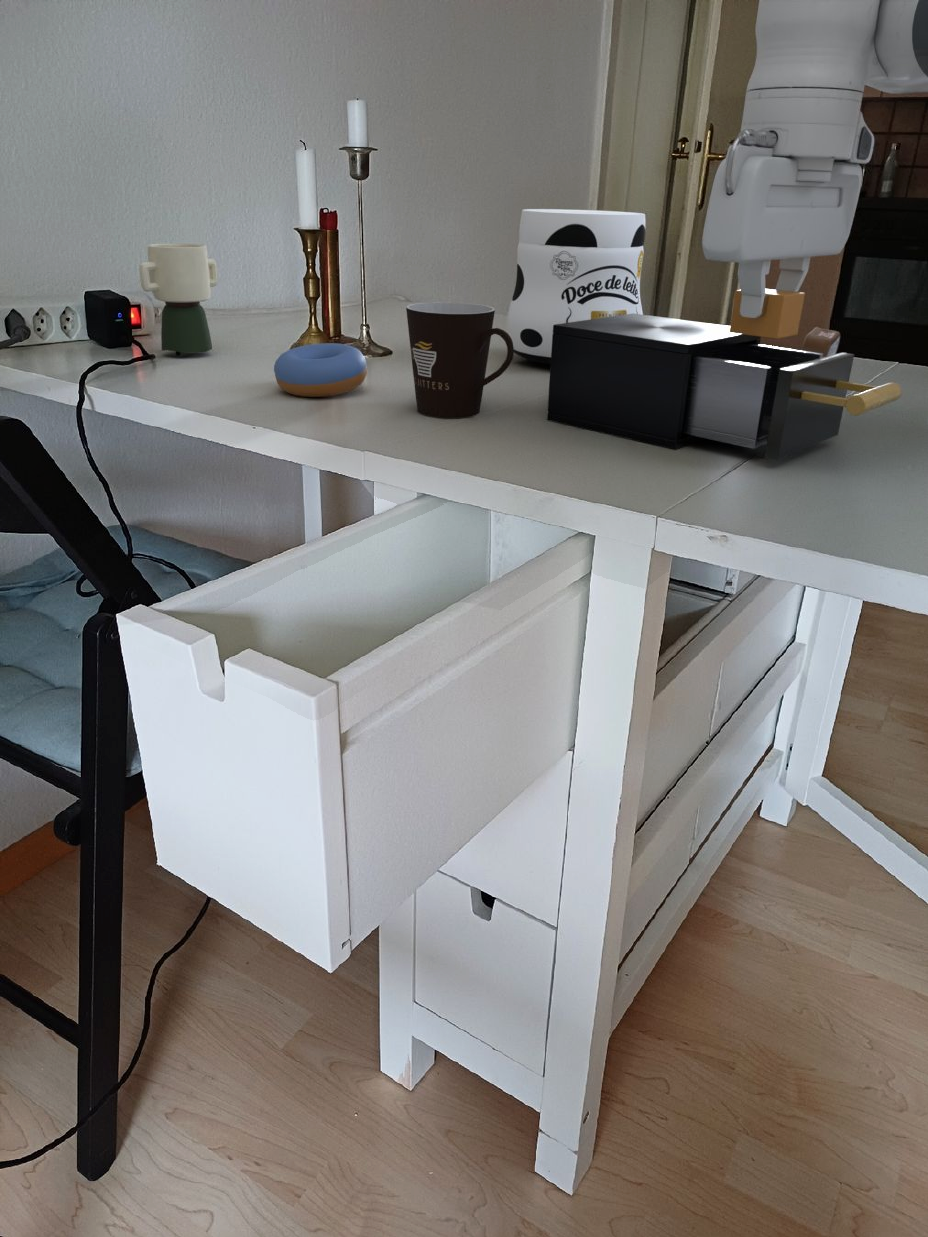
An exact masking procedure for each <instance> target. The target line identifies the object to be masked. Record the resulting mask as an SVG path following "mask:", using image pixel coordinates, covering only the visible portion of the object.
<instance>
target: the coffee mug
mask: <svg viewBox="0 0 928 1237" xmlns="http://www.w3.org/2000/svg"><path fill="white" fill-rule="evenodd" d="M405 311H406V321H407V330H408V337H409V338H408V339H409V348H410V358H411V366H412V375H413V376H412V377H413V384H414V394H415V404H416V411H417V413H419V414H421V415H422V416H426V417H431V418H438V419H464V418H465V419H466V418H472V417H475V416H477V415H479V414H480V413H481V407H482V406H481V405H482V399H483V395H484V394H483V392H484V386H487V385H488V384H490V383H491V382H493V381H495V380H496V379H497V378H499V377H500V376H502V374H503V373H504V372H505V371H506V370H507V369H508V368H509V366H510V365H511V363H512V362H513V358H514V354H515V353H514V348H513V341H512V339H511V337H510V336H509V335H508V333H507V332H506V331H505V330H504V329H502V328H500V327H493V326H494V319H495V313H496V308H495V307H493V306H489V305H485V304H479V303H469V302H453V301H451V302H450V301H449V302H448V301H433V302H432V301H431V302H430V301H429V302H417V303H411V304H408V305H406V306H405ZM493 335H497V336H499V337H500V338H501V339H502V340H503V341H504V343H505V345H506V349H507V353H506V358H505V360H504V362H503V363H502V364H501V366H500V367H499V368H498V369H497V370H495V371H494V372H493V373H491V374H489V375H488V376H487V377H486V373H487V366H488V365H487V364H488V360H489V352H490V347H491V339H492V336H493Z"/></svg>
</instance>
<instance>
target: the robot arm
mask: <svg viewBox="0 0 928 1237" xmlns="http://www.w3.org/2000/svg"><path fill="white" fill-rule="evenodd" d="M754 27H755V32H754V33H755V40H756V55H755V62H754V67H753V70H752V73H751V74H750V78H749V79H748V82H747V86H746V90H745V98H744V105H743V112H742V118H741V126H740V131H739V133H738V134H737V137H736V138H735V139H734V141H733V143H732V144H731V145H729V147H728V148H727V152H726V157H725V158H723V159H722V161H721V162H720V164H719V166H718V167H717V170H716V173H715V176H714V179H713V182H712V187H711V191H710V196H709V200H708V206H707V211H706V216H705V220H704V226H703V231H702V232H703V233H702V238H701V246H702V252H703V256H704V258H705V259H706V260H709V261H714V262H715V261H716V262H726V263H738V267H737V279H738V283H739V290H741V294H742V298H741V305H740V315H741V316H742V317H748V318H758V317H762V316H764V315H765V314H766V312H767V305H768V300H769V296H768V295H765V289H766V275H767V276H768V275H769V273H770V268H771V263H772V261H778V260H780V261H779V265H778V268H779V270H780V273H779V277H778V280H777V282H776V285H775V289H774V290H783V291H792V292H800V291H799V290H800V288H801V286H802V285H803V283H804V281H805V278H806V276H807V274H808V272H809V268H810V263H811V258H814V257H825V256H826V257H827V256H828V257H829V256H838V255H840V254H841V252H842V250H843V249H844V248H845V245H846V243H847V242H848V239H849V237H850V234H851V229H852V226H853V222H854V218H855V215H856V214H855V213H856V211H857V210H856V209H857V205H858V202H859V198H860V193H861V188H862V181H863V169H862V167H861V164H862V165H863V164H868V163H869V162H870V161H871V159H872V155H873V152H874V147H875V136H874V133H873V132H872V131H871V130H870V128H869V127H868V125H867V123H866V122H865V119H864V116H863V112H862V111H861V106H862V101H863V96H864V91H865V87H867V88H870V89H875V90H876V91H880V92H884V93H887V94H893V95H894V94H895V95H902V94H912V93H913V94H914V93H928V0H759V2H758V7H757V14H756V21H755V26H754Z"/></svg>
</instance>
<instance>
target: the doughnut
mask: <svg viewBox="0 0 928 1237" xmlns="http://www.w3.org/2000/svg"><path fill="white" fill-rule="evenodd" d="M367 364H368V362H367V360H366V358H365V355H364V354H363V353H362V351H361V350H359V349H358V348H356V347H354V346H351V345H349V344H345V343H344V344H343V343H334V342H333V343H332V342H327V343H312V344H306V345H301V346H297V347H293V348H291V349H288V350H286V351H284V352H283V353H281V354H280V355H279V357H278V358H277V359H276V360H275V362H274V365H273V372H274V378H275V381H276V382H277V385H278V386H279V388H280V389H282V390H283V391H284V392H286V393H288V394H290V395H293V396H297V397H303V398H304V397H305V398H324V397H330V396H332V397H333V396H337V395H341V394H345V393H348V392H351V391H353V390H355V389H356V388H359V386H361V385H362V384H363V383H364V381H365V379H366V377H367V374H368V366H367Z"/></svg>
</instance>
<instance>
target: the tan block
mask: <svg viewBox="0 0 928 1237" xmlns="http://www.w3.org/2000/svg"><path fill="white" fill-rule="evenodd" d="M734 294H735V297H734V296H733V299H734V304H733V303H732V307H733V311H732V310H731V315H732V317H731V316H730V323H731V324H729V326H730V330H729V332H731V333H738V334H745V335H752V336H759V337H761V338H767V339H774V340H779V339H783V338H788V337H793V336H797V335H798V333H799V328H800V322H801V318H802V317H801V316H802V311H803V306H804V302H805V301H804V300H805V295H806V293H805V292H800V291H798V292H792V291H783V290H775V289H773V288H765V295H768V296H769V300H768V305H767V312H766V314H765V315H764V316H762V317H758V318H748V317H742V316H741V315H740V305H741V298H742V294H741V289H737V290H735V291H734Z"/></svg>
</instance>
